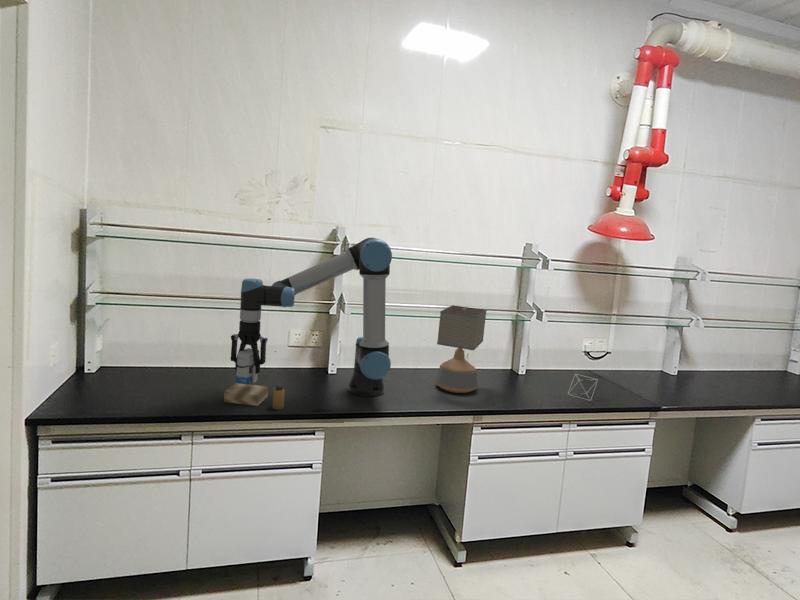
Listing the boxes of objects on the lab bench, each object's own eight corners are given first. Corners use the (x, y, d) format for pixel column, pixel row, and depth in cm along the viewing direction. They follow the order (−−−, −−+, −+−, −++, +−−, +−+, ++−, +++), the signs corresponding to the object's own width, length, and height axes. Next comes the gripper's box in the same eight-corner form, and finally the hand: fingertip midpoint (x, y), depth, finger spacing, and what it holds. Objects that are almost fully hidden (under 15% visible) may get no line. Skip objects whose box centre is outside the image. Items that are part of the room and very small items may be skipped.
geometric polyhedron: (575, 390, 256) (577, 372, 255) (598, 396, 249) (600, 378, 248) (564, 396, 246) (567, 376, 245) (588, 402, 240) (591, 382, 238)
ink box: (247, 385, 199) (249, 354, 197) (235, 383, 200) (236, 352, 198) (258, 379, 207) (259, 349, 206) (246, 377, 208) (247, 347, 207)
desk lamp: (471, 399, 229) (481, 314, 223) (428, 391, 235) (437, 308, 229) (481, 386, 249) (490, 308, 244) (441, 378, 255) (449, 302, 250)
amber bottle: (285, 406, 201) (286, 385, 200) (281, 410, 197) (282, 388, 196) (274, 405, 201) (275, 384, 200) (271, 408, 197) (272, 387, 196)
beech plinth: (267, 396, 210) (268, 386, 209) (257, 405, 199) (258, 395, 198) (235, 392, 211) (235, 382, 210) (223, 401, 200) (224, 391, 199)
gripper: (277, 321, 203) (273, 380, 207) (230, 316, 205) (227, 374, 208) (270, 324, 196) (267, 386, 199) (222, 319, 197) (219, 380, 201)
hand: (247, 380), depth 204 cm, fingers closed on ink box, 5 cm apart
